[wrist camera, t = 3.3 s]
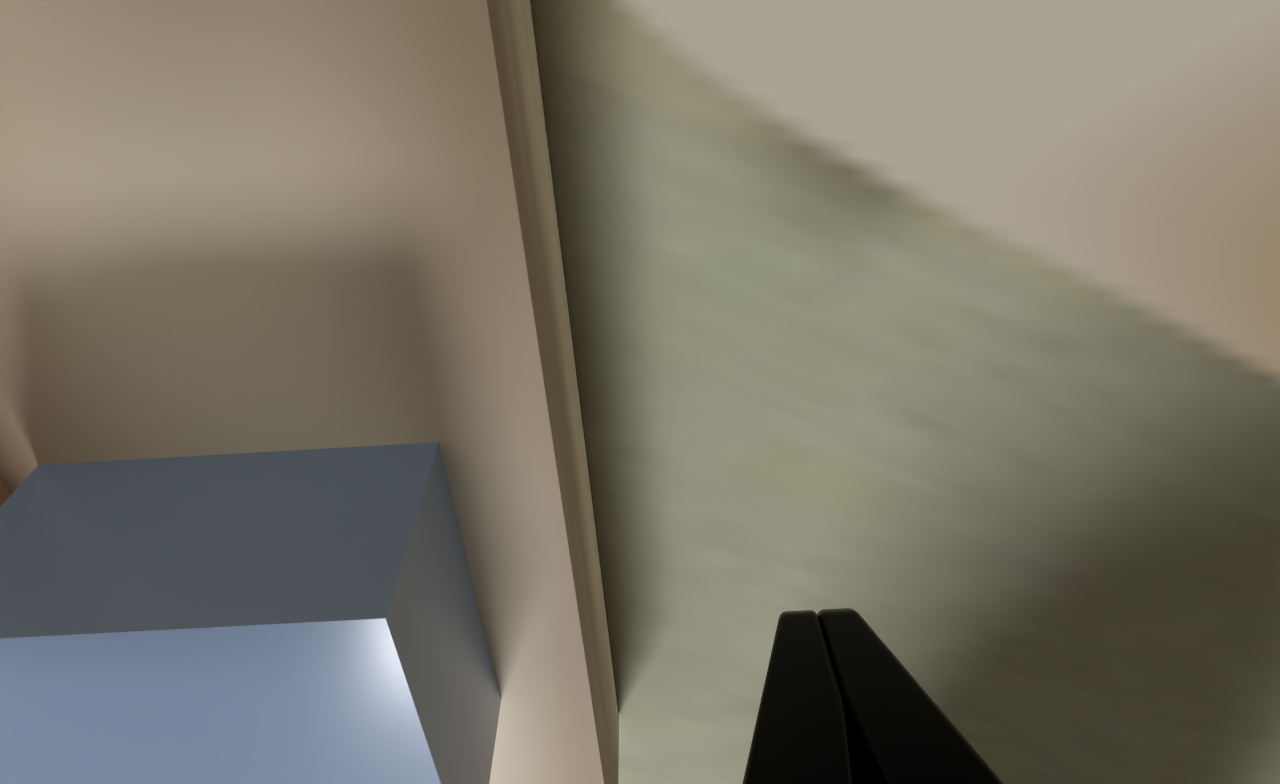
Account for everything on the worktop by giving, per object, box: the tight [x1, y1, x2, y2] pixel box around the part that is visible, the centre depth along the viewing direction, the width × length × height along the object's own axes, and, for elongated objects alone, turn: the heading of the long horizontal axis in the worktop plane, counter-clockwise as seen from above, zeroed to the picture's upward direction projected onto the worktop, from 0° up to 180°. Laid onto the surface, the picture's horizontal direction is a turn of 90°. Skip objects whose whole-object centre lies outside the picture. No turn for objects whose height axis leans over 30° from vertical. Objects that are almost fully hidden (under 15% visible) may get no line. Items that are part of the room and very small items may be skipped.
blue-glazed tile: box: [0, 442, 501, 784], centre depth 10 cm, size 4×4×2 cm
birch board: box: [0, 0, 619, 784], centre depth 12 cm, size 12×14×3 cm
